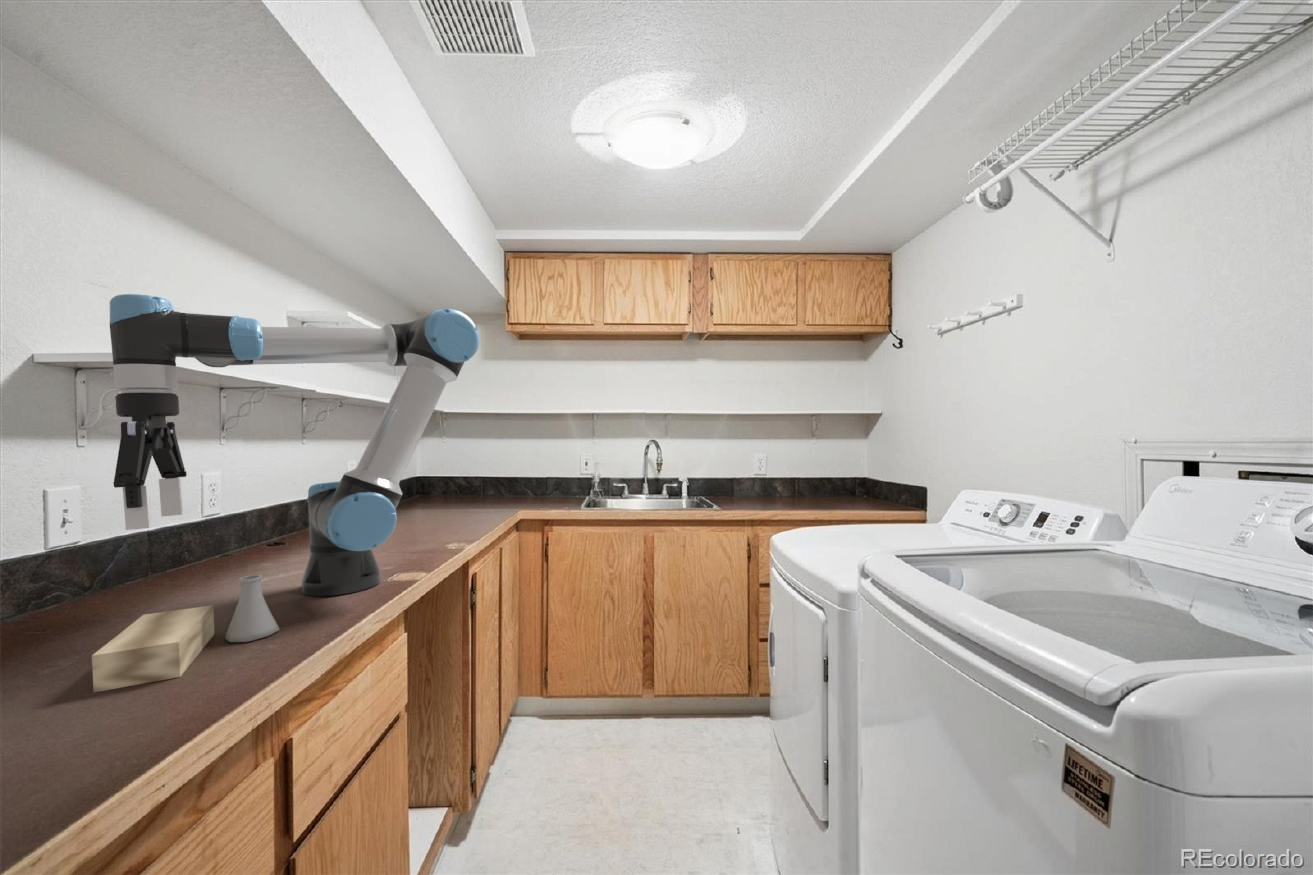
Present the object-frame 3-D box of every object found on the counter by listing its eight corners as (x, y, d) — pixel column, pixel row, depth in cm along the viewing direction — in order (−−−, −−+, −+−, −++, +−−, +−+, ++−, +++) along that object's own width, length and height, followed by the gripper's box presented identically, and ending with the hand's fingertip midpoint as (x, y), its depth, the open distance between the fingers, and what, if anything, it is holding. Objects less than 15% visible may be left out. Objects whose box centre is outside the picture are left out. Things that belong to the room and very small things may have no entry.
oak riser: (214, 634, 93) (213, 605, 93) (180, 676, 77) (178, 641, 77) (144, 645, 89) (143, 614, 88) (93, 692, 73) (91, 655, 72)
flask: (215, 641, 90) (212, 581, 89) (260, 625, 96) (257, 569, 96) (244, 646, 87) (242, 585, 87) (288, 630, 94) (286, 572, 94)
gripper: (149, 396, 98) (157, 512, 99) (74, 387, 76) (86, 538, 76) (201, 395, 101) (209, 508, 102) (144, 387, 79) (155, 532, 80)
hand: (156, 521), depth 89 cm, fingers open, 13 cm apart
